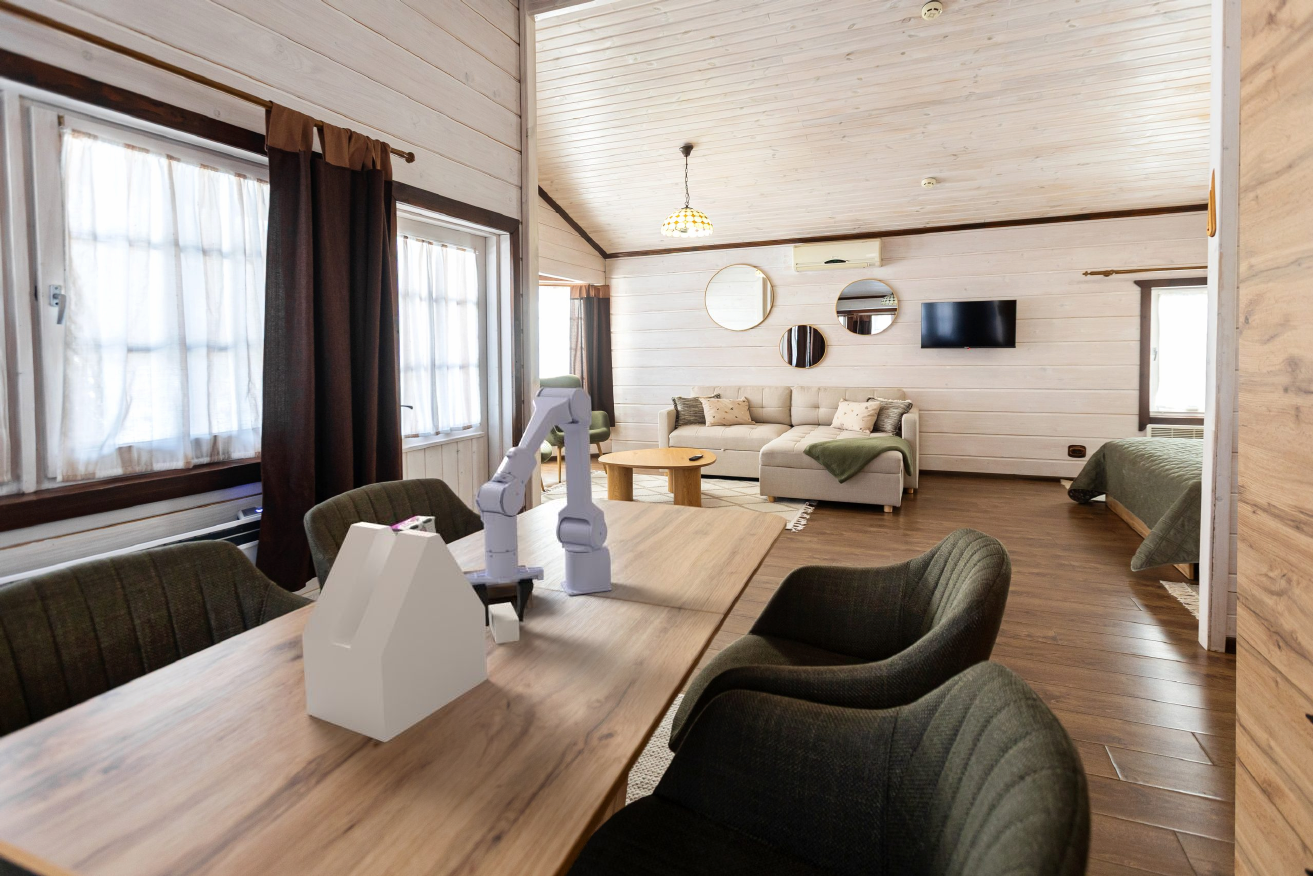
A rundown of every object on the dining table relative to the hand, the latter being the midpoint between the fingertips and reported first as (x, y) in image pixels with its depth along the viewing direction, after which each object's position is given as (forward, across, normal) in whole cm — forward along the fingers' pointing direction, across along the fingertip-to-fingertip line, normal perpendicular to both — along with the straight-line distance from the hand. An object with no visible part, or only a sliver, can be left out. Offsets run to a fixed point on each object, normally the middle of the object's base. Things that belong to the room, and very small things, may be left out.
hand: (503, 622), depth 119 cm
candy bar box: (+2, -15, +23) cm, 28 cm away
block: (+2, 0, 0) cm, 2 cm away
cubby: (+2, 0, +15) cm, 15 cm away
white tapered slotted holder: (+2, -17, -18) cm, 25 cm away
